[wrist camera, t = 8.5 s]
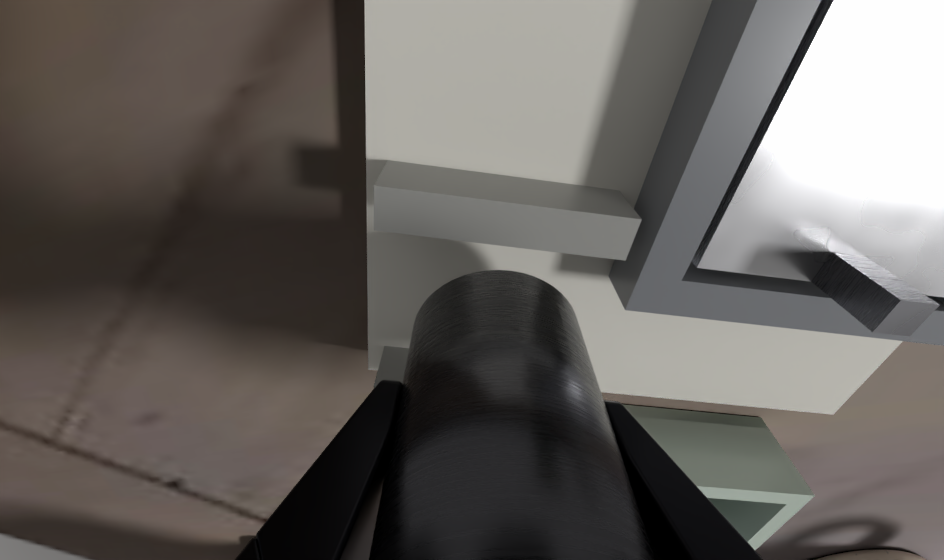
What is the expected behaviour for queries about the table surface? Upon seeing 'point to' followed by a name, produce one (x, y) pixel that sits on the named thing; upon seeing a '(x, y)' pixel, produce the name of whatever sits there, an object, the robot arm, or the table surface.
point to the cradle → (848, 167)
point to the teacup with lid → (873, 555)
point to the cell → (503, 435)
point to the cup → (731, 466)
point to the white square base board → (597, 187)
